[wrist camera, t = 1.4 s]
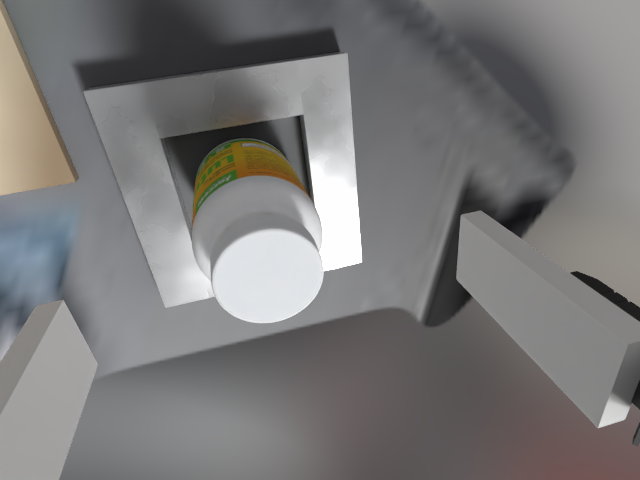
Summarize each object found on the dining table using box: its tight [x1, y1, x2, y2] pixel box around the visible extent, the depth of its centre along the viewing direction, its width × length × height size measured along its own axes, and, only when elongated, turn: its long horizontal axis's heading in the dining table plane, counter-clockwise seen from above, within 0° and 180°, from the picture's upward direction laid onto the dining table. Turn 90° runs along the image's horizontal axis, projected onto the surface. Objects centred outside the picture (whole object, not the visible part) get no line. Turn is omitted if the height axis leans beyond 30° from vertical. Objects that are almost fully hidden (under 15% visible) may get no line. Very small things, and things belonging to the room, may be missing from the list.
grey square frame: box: [83, 52, 362, 308], centre depth 22 cm, size 12×12×1 cm
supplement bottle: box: [192, 138, 324, 323], centre depth 18 cm, size 5×5×10 cm
